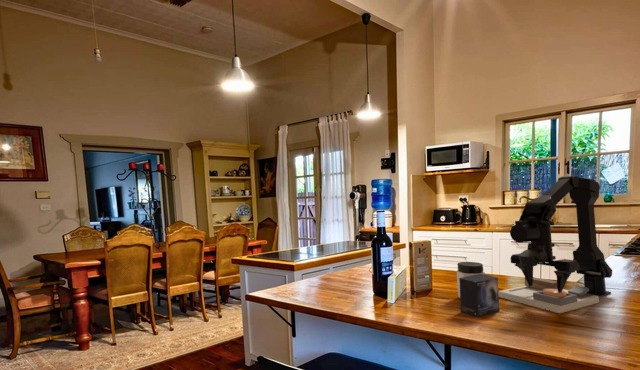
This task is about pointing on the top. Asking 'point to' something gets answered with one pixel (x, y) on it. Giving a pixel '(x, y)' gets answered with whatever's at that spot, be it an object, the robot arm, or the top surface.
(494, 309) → the small box
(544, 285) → the slider bar
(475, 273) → the jar
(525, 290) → the panel
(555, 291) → the push button
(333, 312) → the top surface
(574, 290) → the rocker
